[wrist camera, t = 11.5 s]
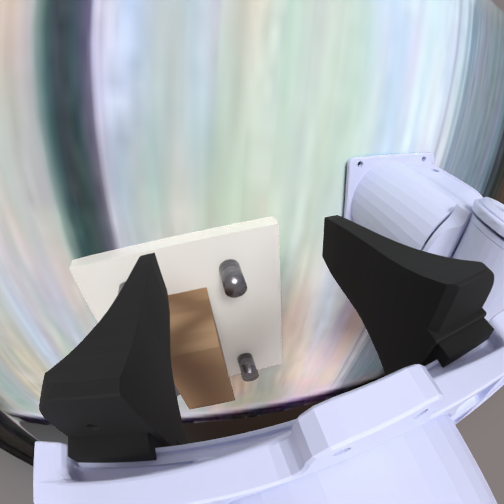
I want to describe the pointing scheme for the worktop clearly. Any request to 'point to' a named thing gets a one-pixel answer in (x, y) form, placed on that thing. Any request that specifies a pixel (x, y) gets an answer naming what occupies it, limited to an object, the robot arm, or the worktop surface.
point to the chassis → (208, 285)
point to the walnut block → (197, 351)
